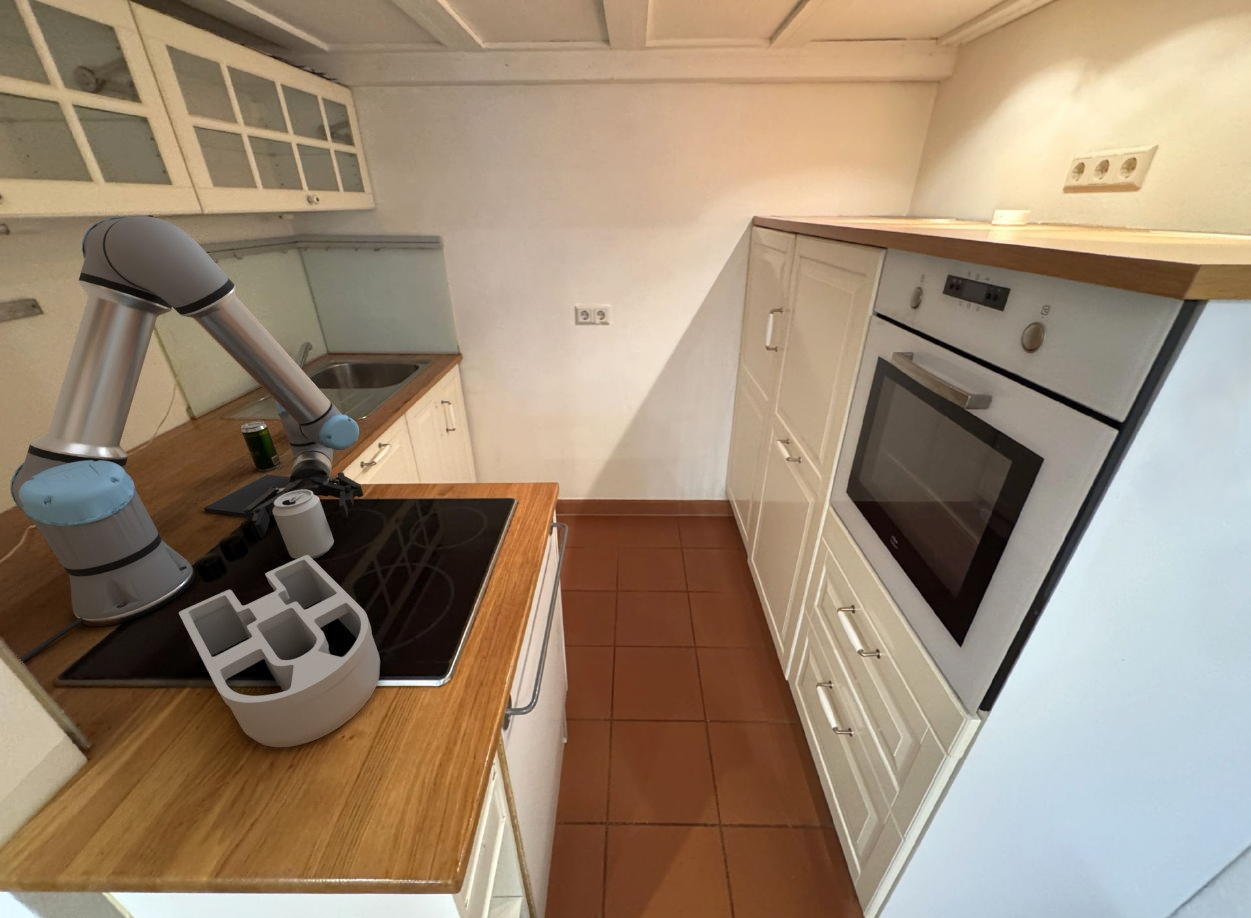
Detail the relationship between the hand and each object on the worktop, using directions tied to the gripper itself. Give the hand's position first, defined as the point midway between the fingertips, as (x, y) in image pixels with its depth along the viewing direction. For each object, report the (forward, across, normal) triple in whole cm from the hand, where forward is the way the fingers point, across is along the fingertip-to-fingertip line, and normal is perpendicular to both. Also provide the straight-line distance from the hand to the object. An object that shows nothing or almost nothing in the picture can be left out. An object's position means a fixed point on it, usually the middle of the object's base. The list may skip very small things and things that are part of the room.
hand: (302, 521), depth 93 cm
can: (0, 0, -7) cm, 7 cm away
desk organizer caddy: (+32, 0, -7) cm, 33 cm away
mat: (-31, +13, -7) cm, 34 cm away
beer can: (-48, +13, -7) cm, 50 cm away
